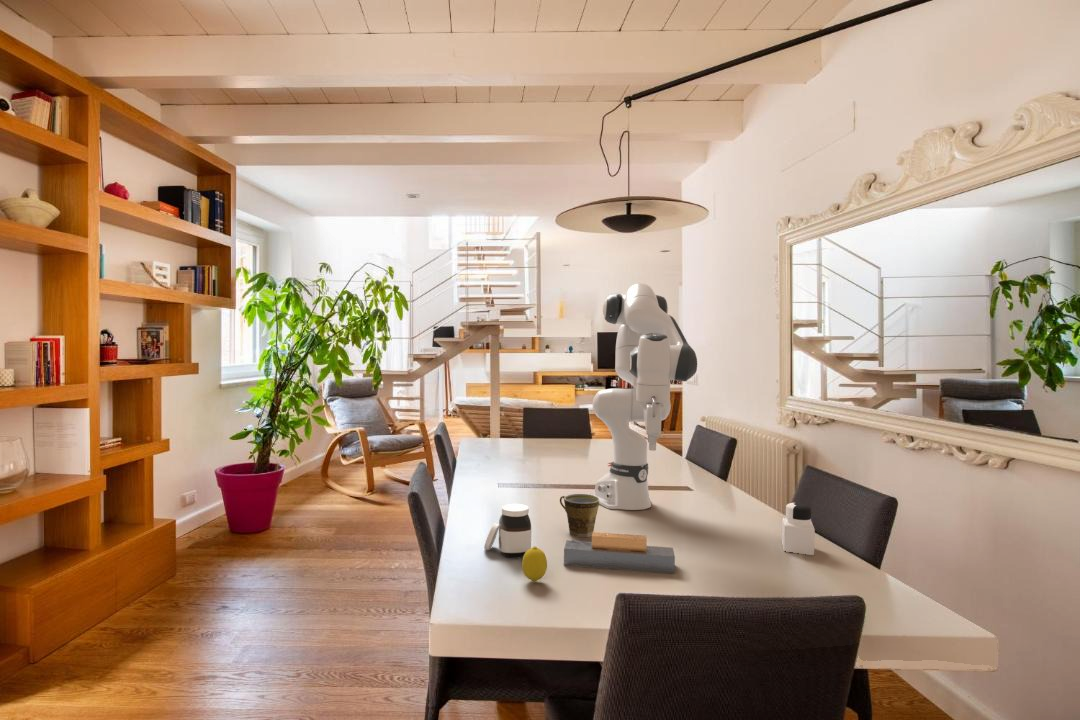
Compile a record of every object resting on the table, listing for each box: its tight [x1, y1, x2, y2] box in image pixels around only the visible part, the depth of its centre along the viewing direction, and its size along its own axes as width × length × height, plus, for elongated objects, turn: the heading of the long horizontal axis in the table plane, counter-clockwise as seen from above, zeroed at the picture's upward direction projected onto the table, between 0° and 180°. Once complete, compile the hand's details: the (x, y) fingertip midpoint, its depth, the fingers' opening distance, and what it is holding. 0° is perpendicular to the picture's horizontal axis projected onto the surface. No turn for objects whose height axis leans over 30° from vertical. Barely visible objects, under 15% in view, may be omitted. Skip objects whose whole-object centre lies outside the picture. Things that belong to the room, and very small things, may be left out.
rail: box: [563, 540, 676, 574], centre depth 137 cm, size 26×6×4 cm, turn 81°
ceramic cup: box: [559, 493, 600, 538], centre depth 160 cm, size 13×10×10 cm
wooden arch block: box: [591, 531, 648, 552], centre depth 137 cm, size 13×3×7 cm, turn 81°
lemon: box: [521, 546, 548, 583], centre depth 125 cm, size 6×6×8 cm
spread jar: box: [483, 503, 532, 559], centre depth 144 cm, size 12×11×12 cm
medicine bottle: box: [781, 502, 816, 556], centre depth 149 cm, size 7×7×12 cm
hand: (651, 446), depth 151 cm, fingers open, 8 cm apart
